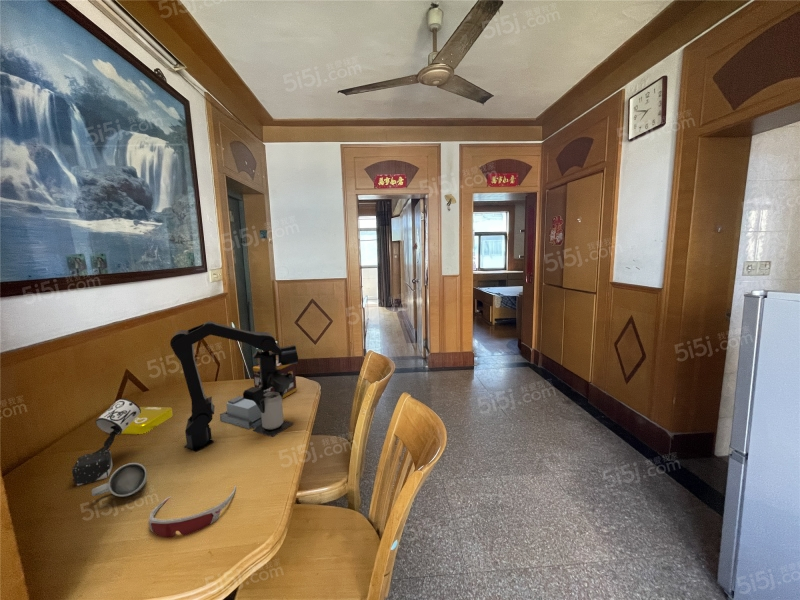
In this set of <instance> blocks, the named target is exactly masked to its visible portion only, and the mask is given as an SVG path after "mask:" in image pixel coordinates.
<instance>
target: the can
mask: <svg viewBox="0 0 800 600" xmlns="http://www.w3.org/2000/svg"><path fill="white" fill-rule="evenodd" d="M264 396H266V398H265V400H264V404H265V413H262V412H261V418H262V427H264V428H265V429H275V428H278V427H280V426H281V424H282V423H283V422H284V421H285V420H284V411H283V410H284V408H283V407H284V406H283V399H282V397H281V396H280V393H278V392H269V393H266V394H264ZM283 420H284V421H283Z"/></svg>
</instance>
